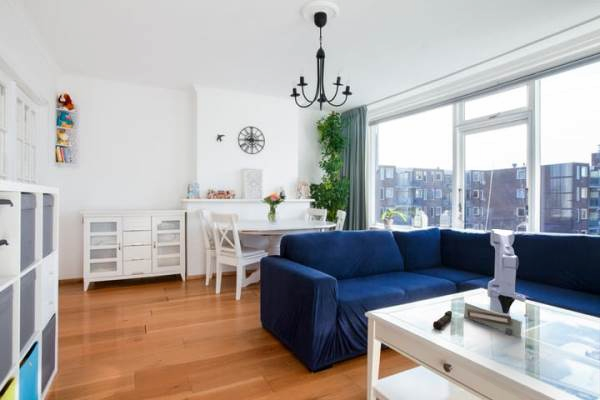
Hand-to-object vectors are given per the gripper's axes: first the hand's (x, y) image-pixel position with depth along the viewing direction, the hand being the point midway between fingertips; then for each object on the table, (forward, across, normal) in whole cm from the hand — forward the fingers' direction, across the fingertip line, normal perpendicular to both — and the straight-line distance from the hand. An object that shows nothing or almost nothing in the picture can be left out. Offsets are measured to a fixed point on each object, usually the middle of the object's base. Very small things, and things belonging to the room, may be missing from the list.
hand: (505, 312), depth 147 cm
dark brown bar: (+10, -19, -16) cm, 27 cm away
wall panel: (+9, -8, +2) cm, 12 cm away
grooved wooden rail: (+7, -8, +1) cm, 10 cm away
